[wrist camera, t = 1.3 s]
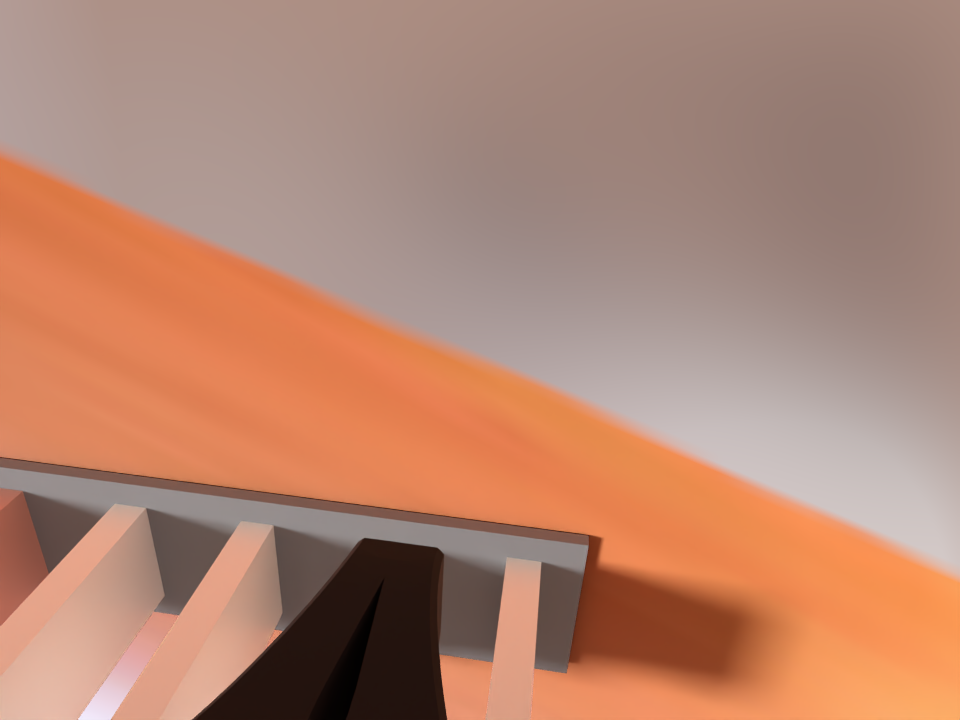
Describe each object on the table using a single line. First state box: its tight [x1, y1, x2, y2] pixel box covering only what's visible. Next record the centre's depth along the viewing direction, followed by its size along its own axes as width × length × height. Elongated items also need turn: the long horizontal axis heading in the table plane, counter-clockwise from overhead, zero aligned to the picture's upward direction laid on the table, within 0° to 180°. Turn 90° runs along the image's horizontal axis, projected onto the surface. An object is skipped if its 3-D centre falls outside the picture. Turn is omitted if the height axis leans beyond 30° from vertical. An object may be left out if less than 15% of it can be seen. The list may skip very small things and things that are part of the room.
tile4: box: [0, 504, 165, 720], centre depth 22 cm, size 1×4×8 cm, turn 177°
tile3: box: [111, 521, 283, 720], centre depth 22 cm, size 1×4×8 cm, turn 176°
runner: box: [0, 458, 589, 673], centre depth 26 cm, size 23×6×1 cm, turn 87°
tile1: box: [486, 557, 541, 720], centre depth 21 cm, size 1×4×8 cm, turn 177°
